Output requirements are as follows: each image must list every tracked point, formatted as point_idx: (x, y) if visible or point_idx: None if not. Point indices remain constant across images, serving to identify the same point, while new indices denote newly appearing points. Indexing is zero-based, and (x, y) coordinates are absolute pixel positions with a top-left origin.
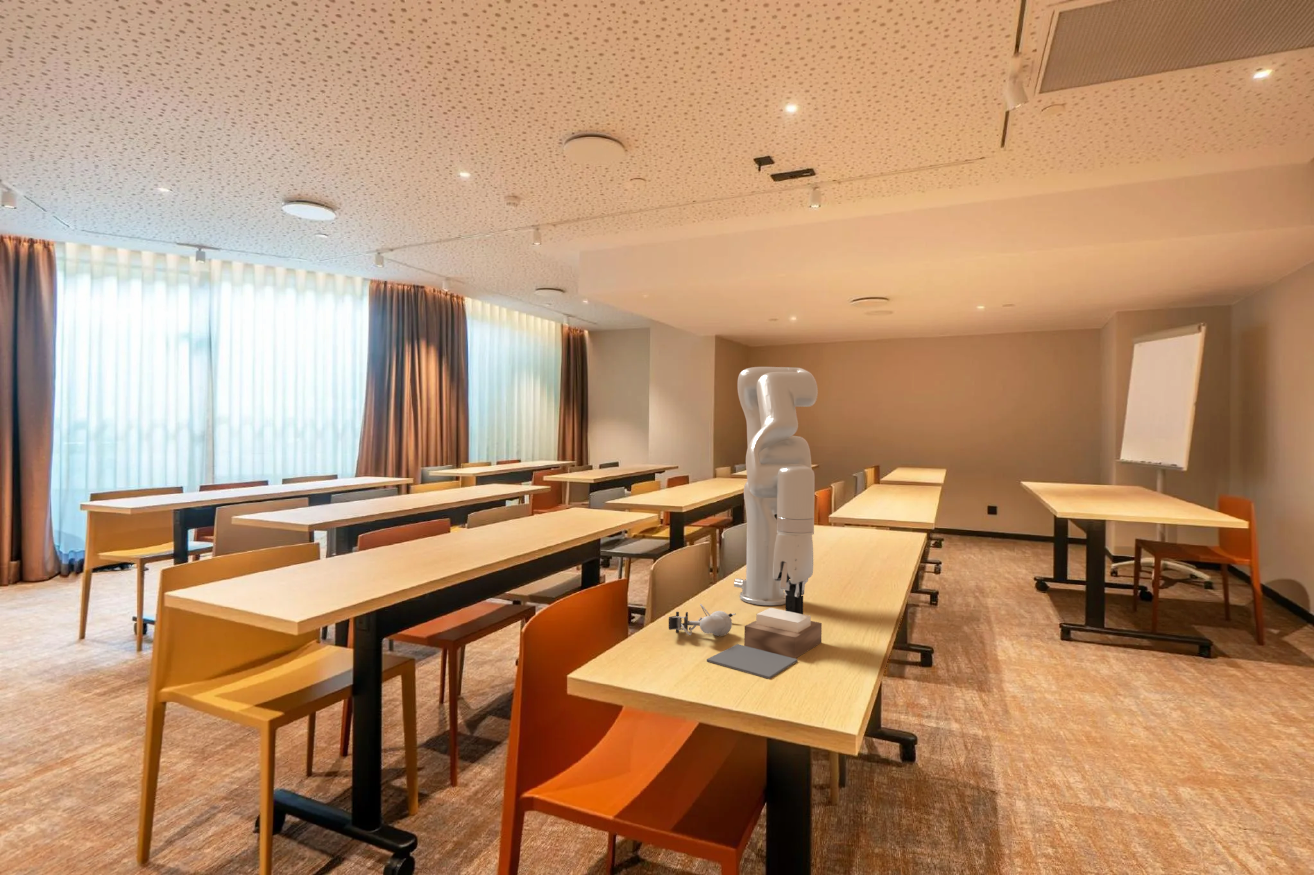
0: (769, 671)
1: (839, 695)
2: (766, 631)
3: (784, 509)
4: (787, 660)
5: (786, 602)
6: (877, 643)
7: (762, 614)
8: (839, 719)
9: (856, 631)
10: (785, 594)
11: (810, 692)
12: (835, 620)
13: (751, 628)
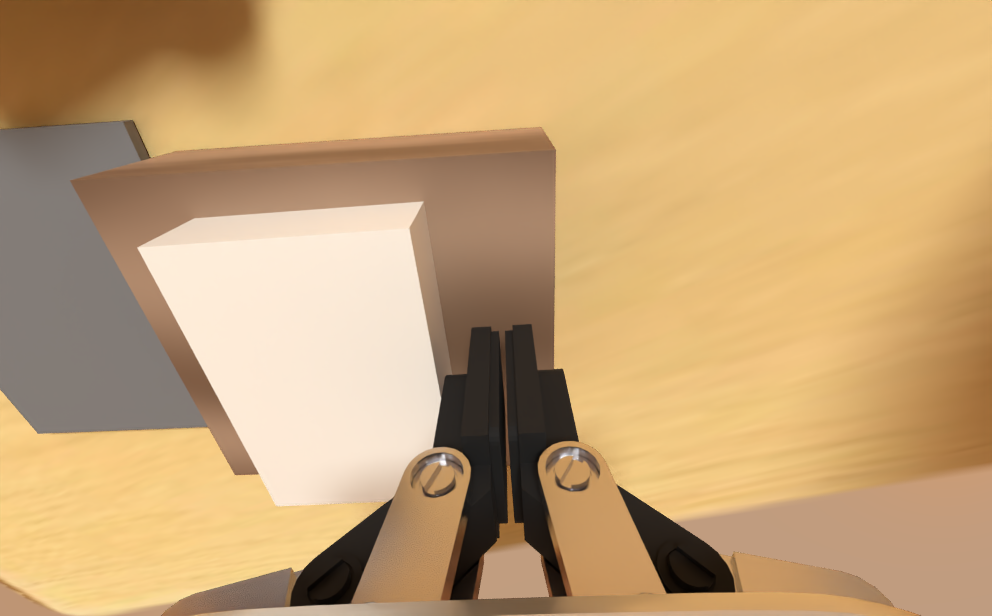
0: (67, 414)
1: (183, 564)
2: (162, 341)
3: None
4: None
5: (466, 388)
6: (674, 508)
7: (182, 290)
8: (85, 595)
9: (798, 423)
10: (413, 466)
11: (119, 525)
12: (975, 294)
13: (109, 237)
